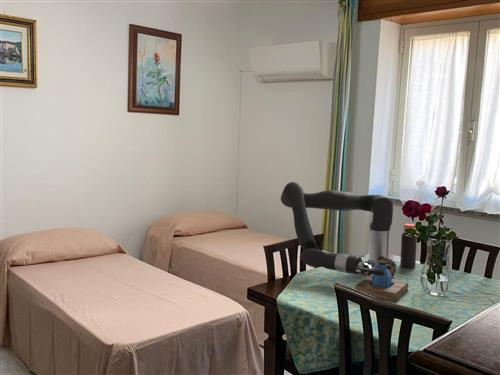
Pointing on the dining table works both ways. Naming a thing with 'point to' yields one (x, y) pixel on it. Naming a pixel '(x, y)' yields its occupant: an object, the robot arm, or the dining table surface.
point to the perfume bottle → (382, 280)
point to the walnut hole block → (383, 289)
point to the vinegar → (408, 249)
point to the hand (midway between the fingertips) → (387, 270)
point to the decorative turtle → (389, 262)
